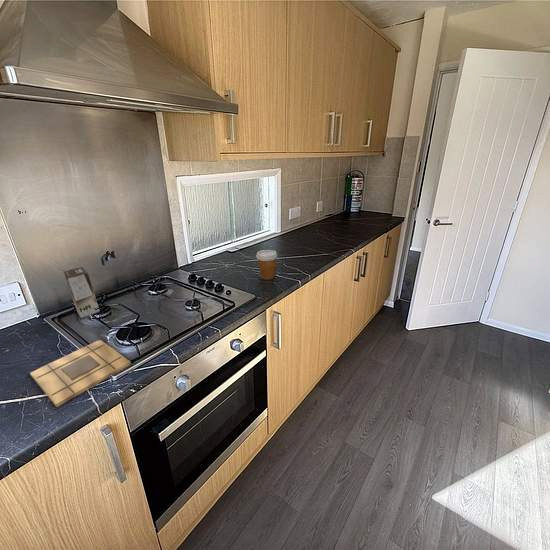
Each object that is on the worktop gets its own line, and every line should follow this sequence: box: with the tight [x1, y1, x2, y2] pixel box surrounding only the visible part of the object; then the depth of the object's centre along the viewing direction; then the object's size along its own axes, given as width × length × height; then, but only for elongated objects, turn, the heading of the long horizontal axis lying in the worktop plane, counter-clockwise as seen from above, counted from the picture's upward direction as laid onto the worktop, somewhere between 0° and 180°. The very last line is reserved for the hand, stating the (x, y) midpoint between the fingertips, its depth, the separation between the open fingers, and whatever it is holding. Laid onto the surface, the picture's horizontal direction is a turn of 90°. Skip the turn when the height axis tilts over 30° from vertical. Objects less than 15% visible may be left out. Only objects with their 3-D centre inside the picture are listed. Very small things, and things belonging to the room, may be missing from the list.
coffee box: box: [63, 266, 100, 319], centre depth 107 cm, size 9×6×16 cm
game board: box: [29, 339, 132, 408], centre depth 79 cm, size 18×18×2 cm
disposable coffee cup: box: [255, 249, 279, 280], centre depth 131 cm, size 10×10×12 cm
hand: (83, 264), depth 112 cm, fingers open, 13 cm apart
